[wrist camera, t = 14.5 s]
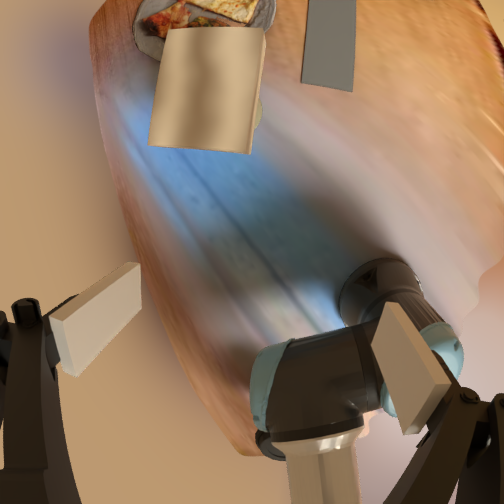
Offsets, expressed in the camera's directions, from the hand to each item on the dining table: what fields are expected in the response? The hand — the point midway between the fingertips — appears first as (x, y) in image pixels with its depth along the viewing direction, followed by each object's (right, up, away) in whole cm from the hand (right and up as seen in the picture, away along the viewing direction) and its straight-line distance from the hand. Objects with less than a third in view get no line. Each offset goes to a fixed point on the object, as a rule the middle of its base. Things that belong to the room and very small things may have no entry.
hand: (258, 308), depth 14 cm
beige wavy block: (-5, +21, +15) cm, 26 cm away
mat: (+13, +39, +20) cm, 46 cm away
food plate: (-9, +44, +22) cm, 50 cm away
